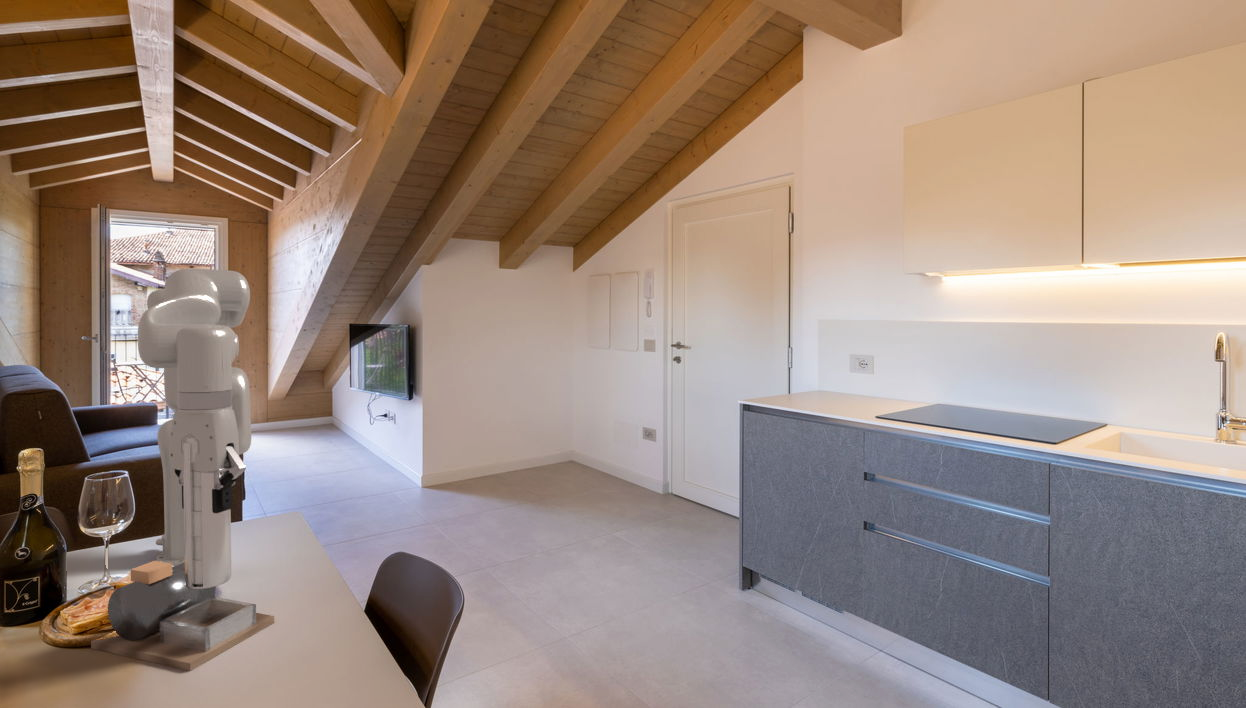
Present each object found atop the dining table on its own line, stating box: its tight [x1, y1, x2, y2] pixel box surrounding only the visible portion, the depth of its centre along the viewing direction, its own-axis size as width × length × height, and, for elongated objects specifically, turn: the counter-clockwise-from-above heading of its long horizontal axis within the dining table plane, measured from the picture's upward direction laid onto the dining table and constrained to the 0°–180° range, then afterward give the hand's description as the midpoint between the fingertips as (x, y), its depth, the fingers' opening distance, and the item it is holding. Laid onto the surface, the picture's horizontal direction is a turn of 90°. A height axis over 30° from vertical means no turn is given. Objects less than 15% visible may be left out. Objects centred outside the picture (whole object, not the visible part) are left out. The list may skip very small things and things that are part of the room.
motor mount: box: [90, 560, 275, 672], centre depth 106 cm, size 21×16×12 cm
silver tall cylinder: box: [183, 438, 232, 589], centre depth 104 cm, size 6×6×25 cm
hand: (207, 507), depth 104 cm, fingers closed on silver tall cylinder, 5 cm apart
